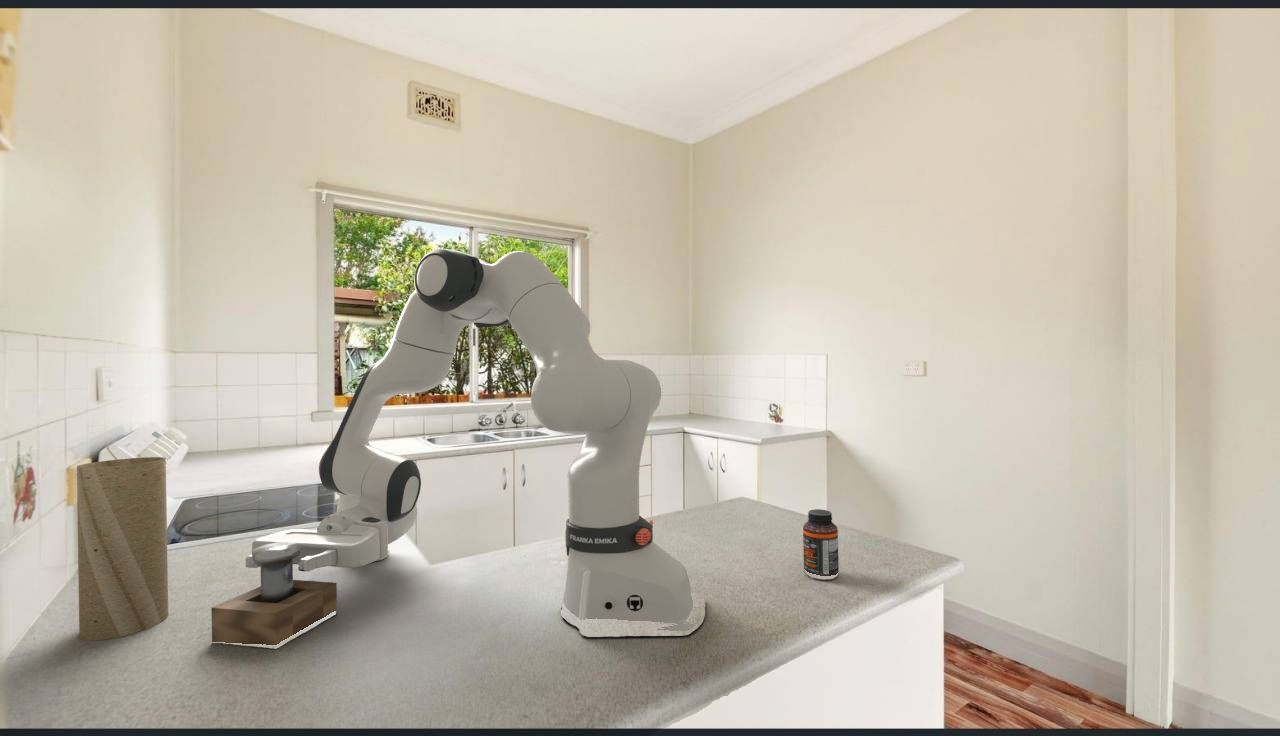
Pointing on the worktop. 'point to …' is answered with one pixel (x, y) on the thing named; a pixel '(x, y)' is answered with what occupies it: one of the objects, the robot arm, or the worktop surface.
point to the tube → (122, 546)
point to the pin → (276, 569)
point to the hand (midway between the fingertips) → (275, 564)
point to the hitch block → (272, 614)
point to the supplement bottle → (820, 544)
